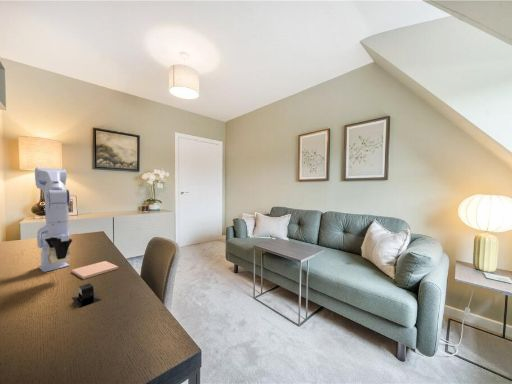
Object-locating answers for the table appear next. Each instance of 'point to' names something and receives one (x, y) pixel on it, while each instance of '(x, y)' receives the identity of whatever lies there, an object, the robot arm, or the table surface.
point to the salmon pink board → (94, 269)
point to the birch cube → (53, 258)
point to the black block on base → (85, 296)
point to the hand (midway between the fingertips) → (59, 257)
